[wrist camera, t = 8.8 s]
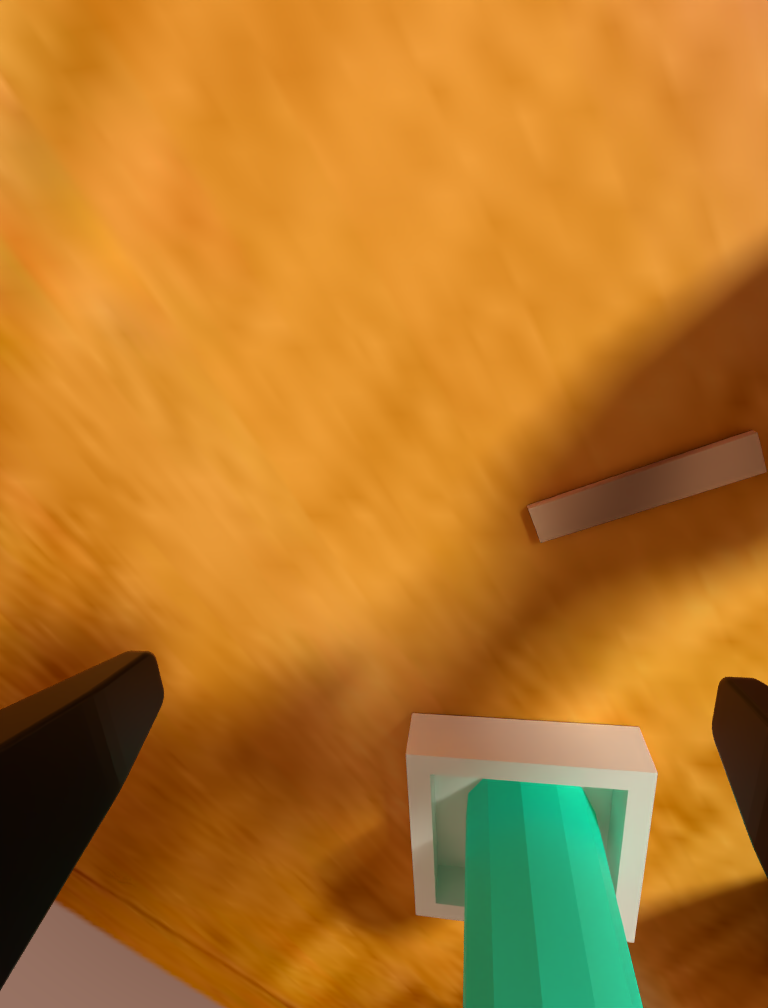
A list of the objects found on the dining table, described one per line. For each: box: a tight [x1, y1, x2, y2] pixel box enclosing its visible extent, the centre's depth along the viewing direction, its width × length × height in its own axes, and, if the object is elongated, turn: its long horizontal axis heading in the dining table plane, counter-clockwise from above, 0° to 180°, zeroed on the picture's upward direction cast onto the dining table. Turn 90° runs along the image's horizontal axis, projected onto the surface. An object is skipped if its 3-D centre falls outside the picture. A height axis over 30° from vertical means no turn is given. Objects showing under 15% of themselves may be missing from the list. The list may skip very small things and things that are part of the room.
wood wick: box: [527, 430, 767, 543], centre depth 19 cm, size 8×2×1 cm, turn 114°
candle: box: [463, 779, 643, 1008], centre depth 19 cm, size 6×6×12 cm
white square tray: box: [406, 713, 658, 943], centre depth 24 cm, size 10×11×3 cm
